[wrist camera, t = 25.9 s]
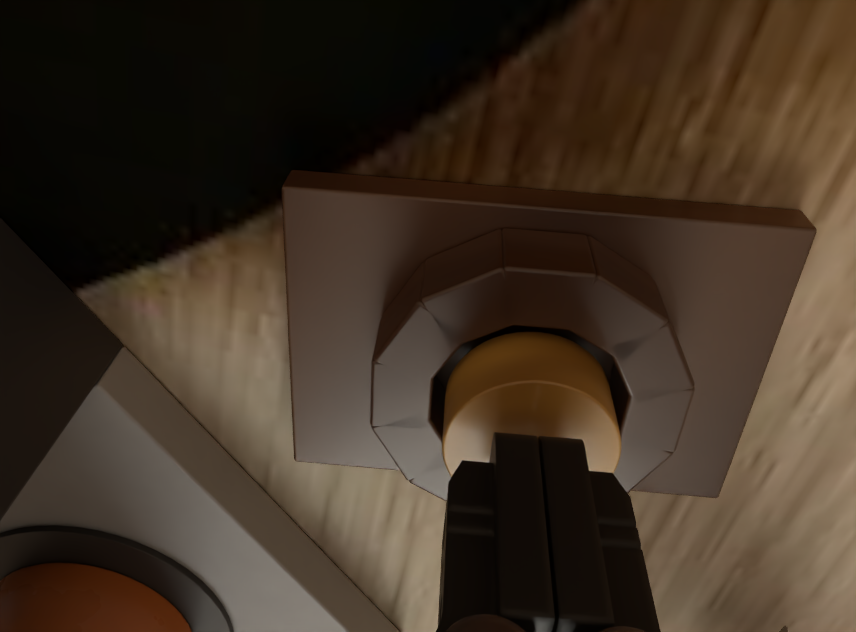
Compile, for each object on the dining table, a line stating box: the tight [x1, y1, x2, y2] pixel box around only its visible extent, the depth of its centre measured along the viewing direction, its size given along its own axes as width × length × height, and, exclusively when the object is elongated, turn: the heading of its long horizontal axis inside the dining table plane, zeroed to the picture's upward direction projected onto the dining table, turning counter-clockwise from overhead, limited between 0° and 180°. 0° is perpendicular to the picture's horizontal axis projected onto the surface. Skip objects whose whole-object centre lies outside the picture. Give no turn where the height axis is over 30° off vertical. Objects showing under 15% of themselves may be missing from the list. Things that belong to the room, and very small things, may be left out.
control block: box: [282, 170, 816, 501], centre depth 16 cm, size 10×7×2 cm
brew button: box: [442, 332, 621, 477], centre depth 14 cm, size 3×3×2 cm
